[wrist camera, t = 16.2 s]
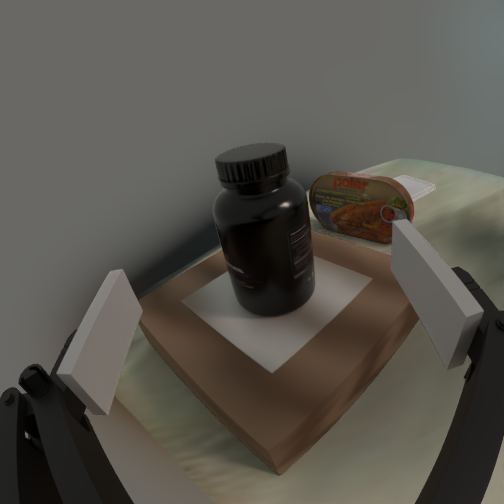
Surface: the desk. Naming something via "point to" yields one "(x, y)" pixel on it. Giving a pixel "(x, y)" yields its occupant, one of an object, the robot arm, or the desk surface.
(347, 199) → the tin
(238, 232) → the supplement bottle
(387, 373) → the desk surface
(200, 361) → the plinth
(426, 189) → the hard drive
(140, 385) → the desk surface
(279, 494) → the desk surface
